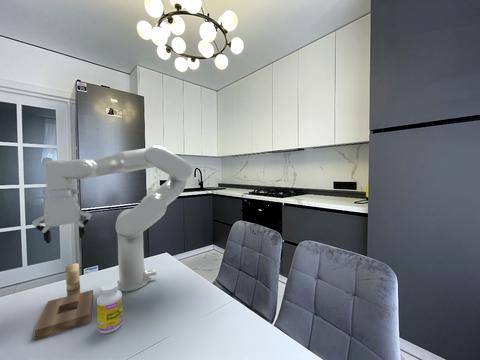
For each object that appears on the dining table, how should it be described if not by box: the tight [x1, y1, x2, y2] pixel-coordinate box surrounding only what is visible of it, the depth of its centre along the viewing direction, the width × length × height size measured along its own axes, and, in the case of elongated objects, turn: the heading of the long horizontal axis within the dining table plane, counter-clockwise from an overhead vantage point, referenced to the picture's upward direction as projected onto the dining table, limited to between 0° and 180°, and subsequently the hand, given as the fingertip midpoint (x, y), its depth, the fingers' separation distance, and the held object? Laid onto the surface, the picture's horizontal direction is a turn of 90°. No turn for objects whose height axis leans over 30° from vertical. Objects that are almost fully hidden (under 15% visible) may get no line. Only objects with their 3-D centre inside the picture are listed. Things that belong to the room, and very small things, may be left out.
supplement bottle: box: [96, 281, 124, 334], centre depth 66 cm, size 7×7×13 cm
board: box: [33, 289, 95, 341], centre depth 71 cm, size 13×16×3 cm
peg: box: [64, 262, 81, 297], centre depth 82 cm, size 4×4×12 cm
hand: (65, 239), depth 80 cm, fingers open, 9 cm apart
